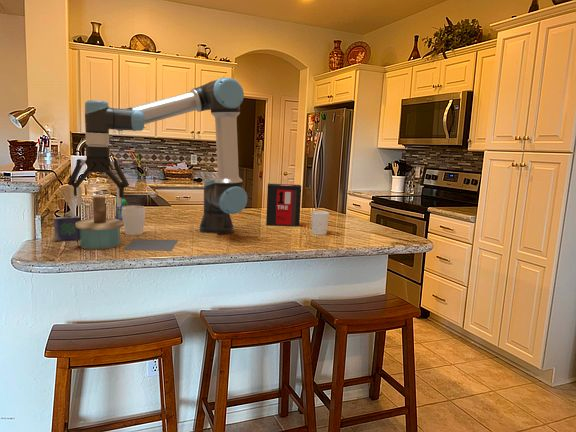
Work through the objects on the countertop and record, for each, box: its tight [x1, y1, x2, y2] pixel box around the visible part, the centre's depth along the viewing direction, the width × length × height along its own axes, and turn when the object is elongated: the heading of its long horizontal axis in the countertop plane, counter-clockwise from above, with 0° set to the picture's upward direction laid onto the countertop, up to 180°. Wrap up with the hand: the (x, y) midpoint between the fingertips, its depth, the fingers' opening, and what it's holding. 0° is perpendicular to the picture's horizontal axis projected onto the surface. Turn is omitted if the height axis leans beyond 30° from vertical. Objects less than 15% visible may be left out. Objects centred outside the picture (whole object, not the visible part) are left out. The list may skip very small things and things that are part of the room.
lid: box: [75, 196, 124, 230], centre depth 153 cm, size 16×16×10 cm
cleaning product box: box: [265, 183, 302, 228], centre depth 214 cm, size 16×9×20 cm, turn 92°
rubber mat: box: [122, 238, 179, 252], centre depth 158 cm, size 17×17×1 cm
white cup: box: [311, 210, 330, 236], centre depth 196 cm, size 8×8×10 cm
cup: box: [122, 204, 146, 236], centre depth 175 cm, size 9×9×12 cm
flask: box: [53, 212, 82, 242], centre depth 163 cm, size 9×3×11 cm, turn 121°
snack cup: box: [115, 197, 129, 221], centre depth 205 cm, size 16×10×10 cm
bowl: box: [79, 227, 121, 250], centre depth 155 cm, size 13×13×8 cm
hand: (99, 205), depth 153 cm, fingers open, 13 cm apart
